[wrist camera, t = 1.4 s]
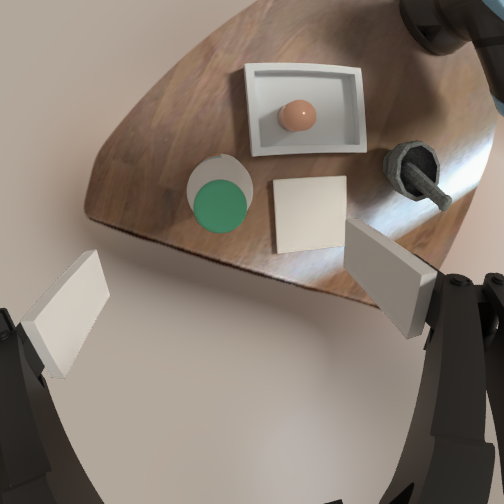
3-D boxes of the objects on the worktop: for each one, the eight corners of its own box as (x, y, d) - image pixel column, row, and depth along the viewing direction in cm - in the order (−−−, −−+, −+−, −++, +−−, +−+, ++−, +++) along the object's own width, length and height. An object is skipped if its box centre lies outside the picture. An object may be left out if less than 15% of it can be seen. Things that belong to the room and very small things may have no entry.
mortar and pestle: (365, 155, 43) (407, 162, 32) (402, 129, 42) (447, 132, 31) (391, 208, 47) (432, 229, 36) (425, 182, 46) (468, 196, 35)
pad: (344, 175, 44) (346, 176, 43) (343, 243, 48) (345, 245, 48) (272, 179, 43) (273, 180, 42) (276, 251, 48) (277, 253, 47)
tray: (353, 71, 37) (360, 68, 35) (359, 151, 43) (366, 152, 40) (243, 67, 36) (244, 63, 34) (250, 155, 41) (252, 156, 39)
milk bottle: (240, 148, 41) (257, 154, 22) (249, 197, 44) (272, 241, 25) (189, 159, 40) (164, 174, 22) (200, 207, 43) (187, 259, 25)
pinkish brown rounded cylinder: (304, 103, 38) (315, 99, 34) (306, 131, 40) (317, 130, 35) (276, 104, 38) (283, 99, 33) (278, 132, 40) (286, 131, 35)
